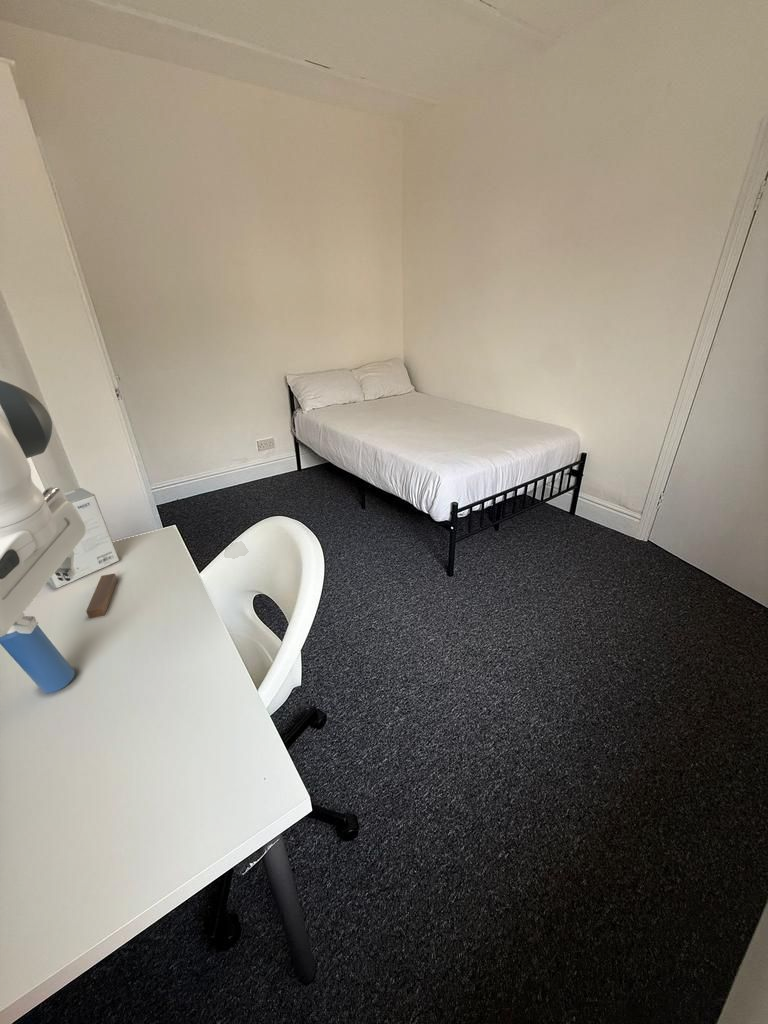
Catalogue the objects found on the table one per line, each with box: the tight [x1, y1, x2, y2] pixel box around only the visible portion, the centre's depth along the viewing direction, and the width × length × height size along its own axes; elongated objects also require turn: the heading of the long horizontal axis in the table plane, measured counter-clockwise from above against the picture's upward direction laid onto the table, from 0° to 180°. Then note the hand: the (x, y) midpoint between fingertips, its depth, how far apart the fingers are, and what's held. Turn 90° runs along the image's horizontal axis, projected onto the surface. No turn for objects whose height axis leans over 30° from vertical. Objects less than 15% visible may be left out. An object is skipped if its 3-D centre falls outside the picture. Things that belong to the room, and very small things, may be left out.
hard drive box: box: [46, 487, 120, 590], centre depth 104 cm, size 16×8×20 cm, turn 144°
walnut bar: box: [85, 573, 118, 619], centre depth 98 cm, size 3×14×2 cm, turn 20°
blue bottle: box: [0, 615, 75, 694], centre depth 72 cm, size 5×5×17 cm
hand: (49, 601), depth 59 cm, fingers open, 8 cm apart
